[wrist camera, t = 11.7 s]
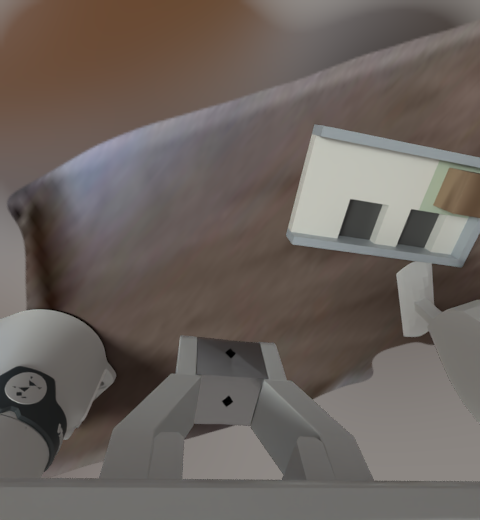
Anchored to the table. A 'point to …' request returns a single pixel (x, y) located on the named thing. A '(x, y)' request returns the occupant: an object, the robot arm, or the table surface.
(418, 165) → the track
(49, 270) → the table surface
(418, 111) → the table surface
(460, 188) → the walnut block
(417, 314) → the heart sculpture
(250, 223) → the table surface
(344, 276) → the table surface
